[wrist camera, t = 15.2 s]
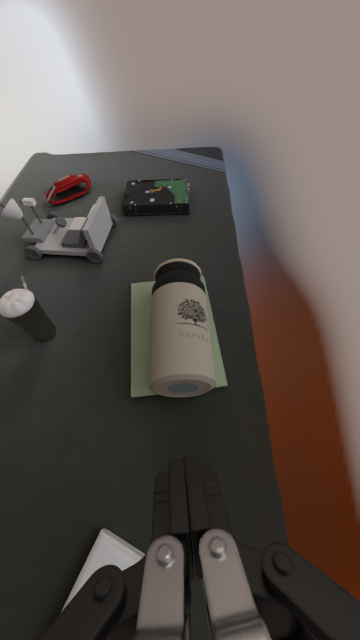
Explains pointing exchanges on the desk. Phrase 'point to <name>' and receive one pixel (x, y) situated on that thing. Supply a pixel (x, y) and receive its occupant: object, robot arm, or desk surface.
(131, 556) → the hard drive
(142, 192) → the disk drive
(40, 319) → the milkshake
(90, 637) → the robot arm
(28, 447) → the desk surface
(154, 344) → the travel mug
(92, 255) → the toy car
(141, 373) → the mat
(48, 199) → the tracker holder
